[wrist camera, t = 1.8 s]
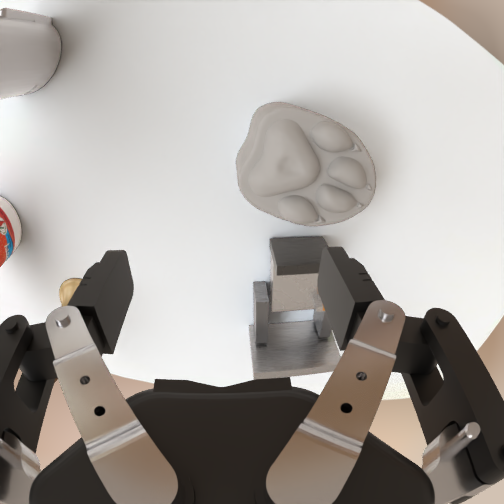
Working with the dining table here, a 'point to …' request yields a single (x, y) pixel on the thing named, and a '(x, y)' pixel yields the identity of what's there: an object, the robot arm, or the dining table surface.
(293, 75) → the dining table surface
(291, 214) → the paw print stamp
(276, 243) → the grey boxy piece
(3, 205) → the fruit juice
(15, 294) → the dining table surface
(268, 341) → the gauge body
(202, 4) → the dining table surface
